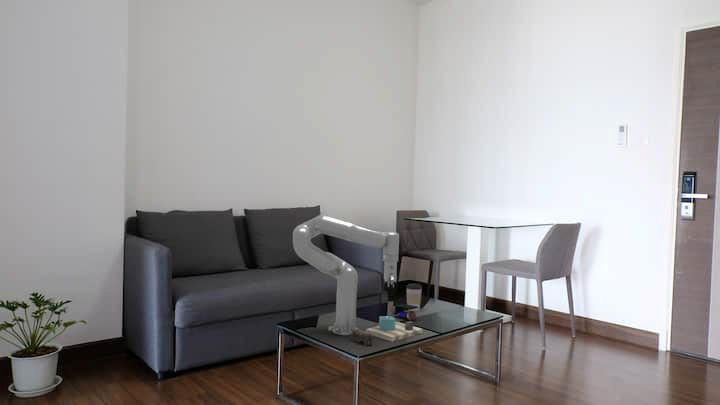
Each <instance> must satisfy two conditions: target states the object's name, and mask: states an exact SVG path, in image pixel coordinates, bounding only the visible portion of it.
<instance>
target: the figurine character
mask: <svg viewBox="0 0 720 405" xmlns="http://www.w3.org/2000/svg"><path fill="white" fill-rule="evenodd" d="M416 308H418V307H417V306H412V305H407V303H406V304H405V303H400V304H396V305H394V306H391V307H390V312H391V313H392V314H394V316H396V318H407V320H409V321H414V320H416V319H417V312H416V311H409V310H412V309H416ZM407 309H409V310H408V311H404V310H407Z"/></svg>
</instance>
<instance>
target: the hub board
mask: <svg viewBox="0 0 720 405" xmlns="http://www.w3.org/2000/svg"><path fill="white" fill-rule="evenodd" d="M423 330H424V328H421V327H417V326H414V321H412V320H409V321H406V322H404V323H403V322H402V323H401V322H399V321H395V330H380V327H379V325H377V326H373V327H370V328H365V331H367V332H370V333H371V335H372V337H376V338H379V339H383V340H385V341H389V342H392V343H393V342H397V341H399V340H403V339H407V338H410V336H411V337H414V336H417V334H418V335H421V334H423V333H424V331H423ZM420 333H421V334H420Z"/></svg>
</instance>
